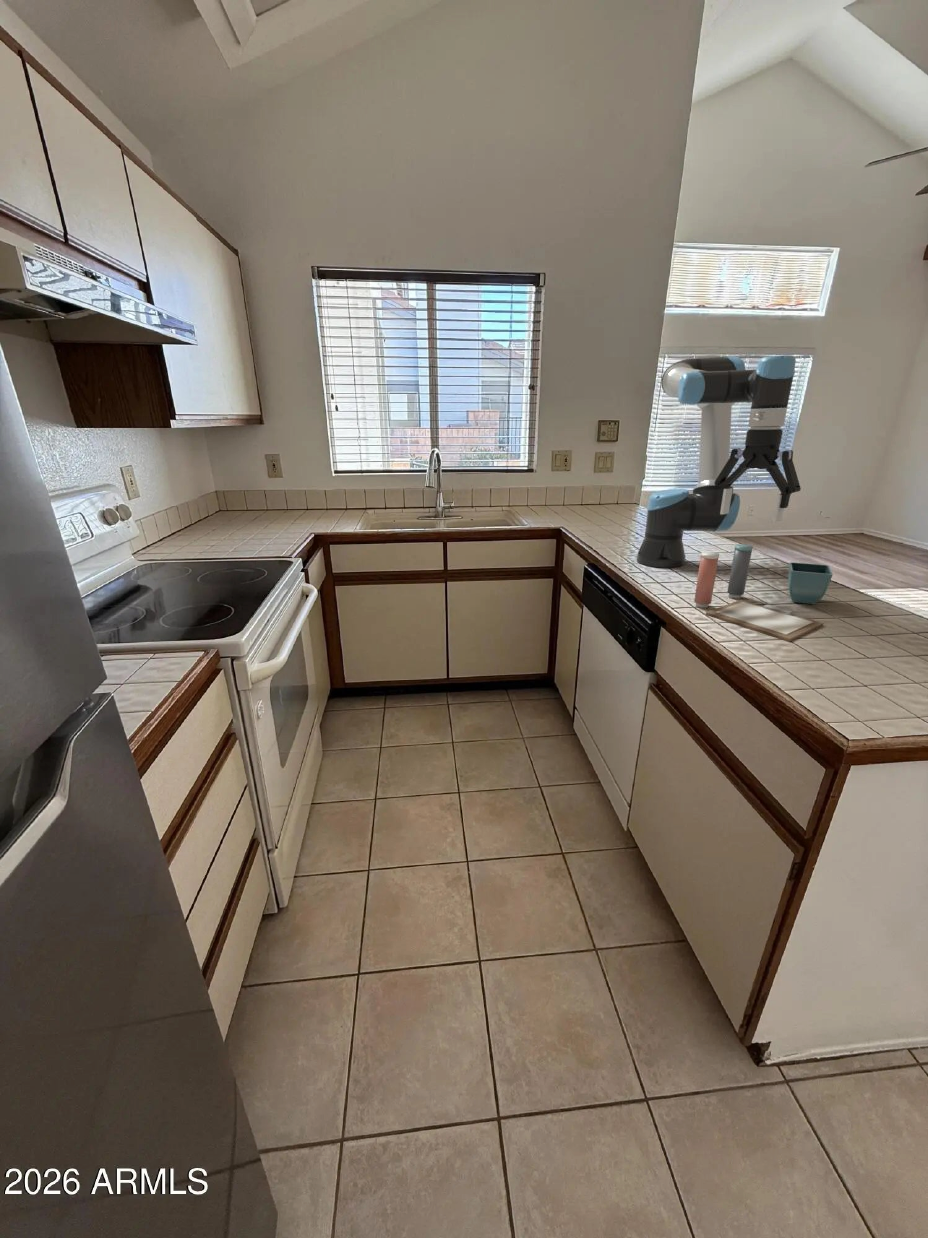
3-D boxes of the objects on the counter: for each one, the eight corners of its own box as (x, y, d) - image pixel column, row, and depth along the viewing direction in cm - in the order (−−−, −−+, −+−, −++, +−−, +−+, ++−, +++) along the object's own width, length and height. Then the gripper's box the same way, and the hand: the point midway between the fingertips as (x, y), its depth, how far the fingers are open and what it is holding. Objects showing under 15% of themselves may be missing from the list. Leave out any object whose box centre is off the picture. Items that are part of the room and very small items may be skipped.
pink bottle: (690, 605, 134) (697, 553, 128) (699, 602, 136) (707, 550, 130) (704, 610, 130) (712, 556, 125) (714, 606, 132) (722, 553, 127)
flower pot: (784, 603, 133) (791, 570, 129) (782, 593, 140) (789, 561, 137) (824, 608, 129) (833, 574, 126) (820, 597, 136) (829, 565, 133)
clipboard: (705, 614, 128) (706, 609, 127) (740, 601, 135) (741, 596, 134) (788, 641, 112) (790, 635, 111) (822, 625, 119) (824, 620, 119)
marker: (723, 596, 139) (731, 545, 134) (731, 593, 141) (740, 543, 136) (737, 600, 136) (747, 548, 131) (746, 597, 138) (756, 546, 133)
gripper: (707, 428, 130) (696, 512, 138) (813, 429, 111) (793, 526, 119) (725, 427, 134) (713, 509, 142) (830, 427, 114) (809, 522, 122)
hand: (749, 517), depth 130 cm, fingers open, 13 cm apart
